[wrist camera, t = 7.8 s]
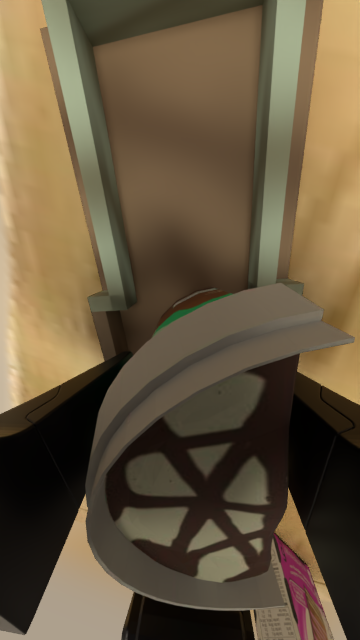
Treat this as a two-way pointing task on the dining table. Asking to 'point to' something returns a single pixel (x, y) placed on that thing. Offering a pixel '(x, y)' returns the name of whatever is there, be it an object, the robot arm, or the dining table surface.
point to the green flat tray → (183, 145)
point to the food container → (202, 449)
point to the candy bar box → (292, 602)
